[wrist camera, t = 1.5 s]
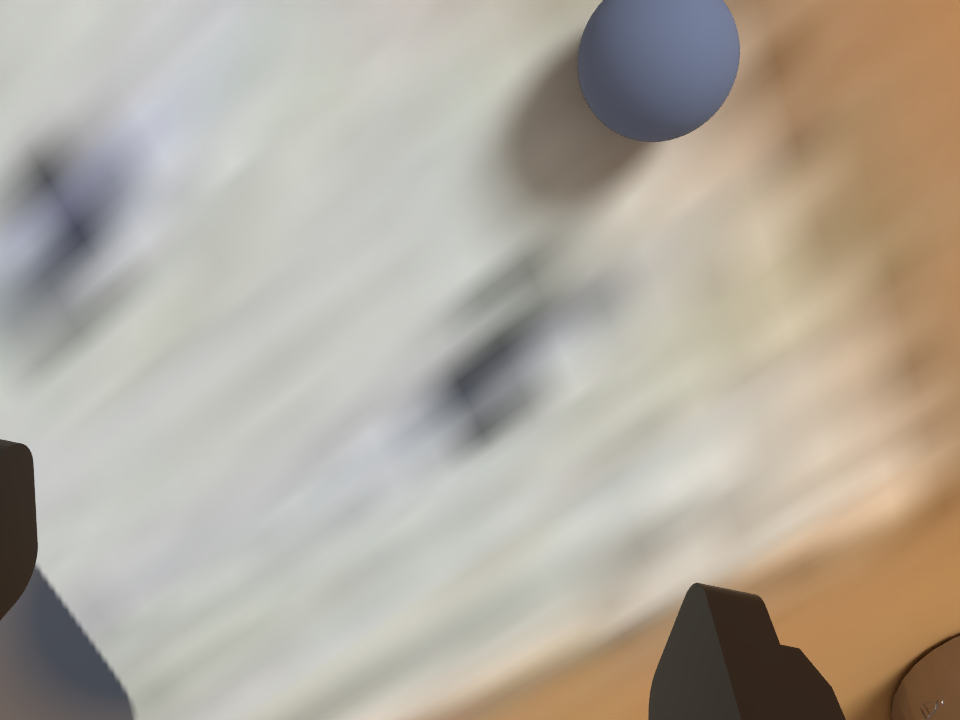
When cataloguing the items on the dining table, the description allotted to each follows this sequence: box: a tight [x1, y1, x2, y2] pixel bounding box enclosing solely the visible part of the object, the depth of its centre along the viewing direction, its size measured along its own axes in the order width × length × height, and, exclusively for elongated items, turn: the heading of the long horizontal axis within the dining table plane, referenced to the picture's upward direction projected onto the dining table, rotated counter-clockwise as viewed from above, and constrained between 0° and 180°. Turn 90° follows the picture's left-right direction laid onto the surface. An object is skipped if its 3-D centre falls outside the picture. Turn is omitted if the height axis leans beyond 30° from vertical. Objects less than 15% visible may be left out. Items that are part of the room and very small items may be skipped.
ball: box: [578, 0, 740, 142], centre depth 22 cm, size 4×4×4 cm
